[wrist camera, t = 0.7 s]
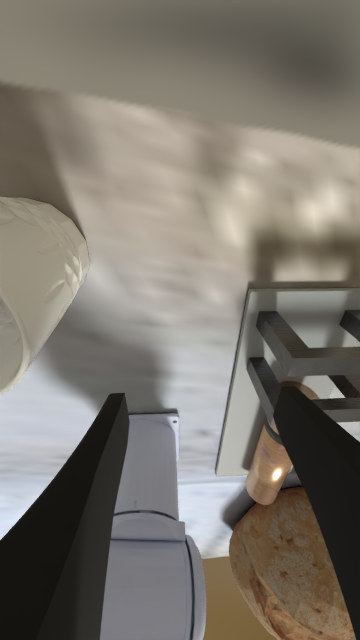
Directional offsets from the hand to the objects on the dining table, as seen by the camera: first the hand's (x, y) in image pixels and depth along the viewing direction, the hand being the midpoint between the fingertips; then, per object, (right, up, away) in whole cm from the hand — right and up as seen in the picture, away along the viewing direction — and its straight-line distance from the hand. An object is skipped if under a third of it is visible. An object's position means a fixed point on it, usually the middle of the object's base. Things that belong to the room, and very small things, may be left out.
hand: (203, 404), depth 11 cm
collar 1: (+10, +4, +9) cm, 14 cm away
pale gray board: (+10, -6, +16) cm, 19 cm away
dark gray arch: (+10, 0, +12) cm, 15 cm away
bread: (+19, -33, +33) cm, 50 cm away
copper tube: (+10, -10, +17) cm, 22 cm away
